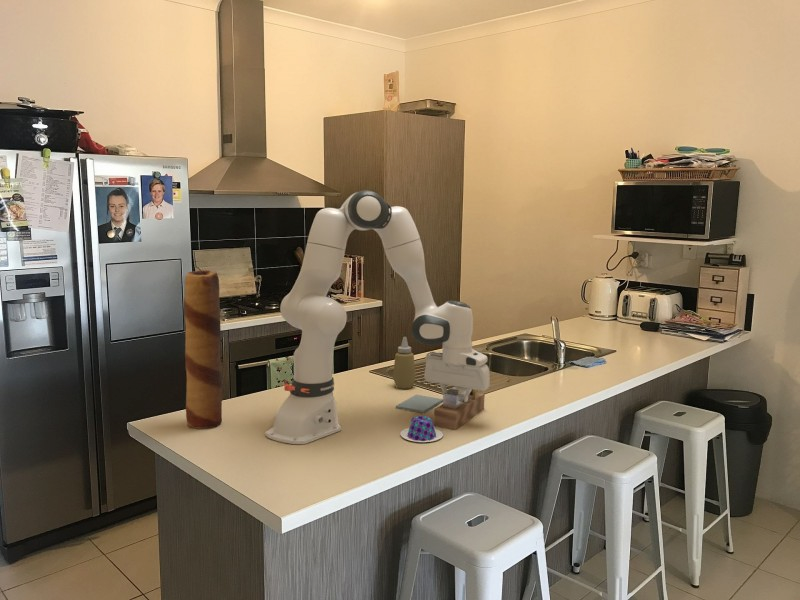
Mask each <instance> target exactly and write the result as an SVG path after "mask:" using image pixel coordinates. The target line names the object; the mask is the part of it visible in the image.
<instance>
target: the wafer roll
mask: <svg viewBox="0 0 800 600" xmlns="http://www.w3.org/2000/svg"><path fill="white" fill-rule="evenodd" d="M220 302H221V301H220V279H219V276H218V272H217V271H212V270H208V269H204V270H203V269H202V270H196V271H195V270H194V271H193V270H192V271H189V272H187V273H186V275H185V277H184V299H183V305H184V319H185V320H184V321H185V323H184V324H185V332H184V333H185V344H184V346H185V350H184V357H185V371H186V392H185V394H186V395H185V398H186V399H185V417H186V425H187V426H188V427H189V428H195V429H202V428H203V429H206V428H214V427H217V426H219V425H221V424H222V422H223V418H222V415H223V414H222V412H223V410H222V406H223V405H222V404H223V374H222V362H221V342H222V340H221V337H222V330H221V307H220V304H221V303H220Z"/></svg>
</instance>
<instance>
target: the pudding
mask: <svg viewBox="0 0 800 600" xmlns="http://www.w3.org/2000/svg"><path fill="white" fill-rule="evenodd" d="M399 434H400V436H401V437H402V438H403V439H405V440H408V441H411V442H416V443H429V442H435V441H439V440H440V439H442V438H443V435H444V434H443V432H442V431H440V429H437V428H435V426H434V420H433V419H432V418H431V417H429V416H425V415H421V416H420V415H418V416H415V417H412V418H411V420H410V423H409V427H408V428H407V427H406V428H405V429H402V431H400V433H399ZM436 435H437V437H436ZM429 440H430V441H429Z"/></svg>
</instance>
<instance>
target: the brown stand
mask: <svg viewBox="0 0 800 600" xmlns="http://www.w3.org/2000/svg"><path fill="white" fill-rule="evenodd" d="M478 391H479V390H474V389H472V391H471V392H470V400H469V401H468V402H466V403H465V404H463V405H462V406H460V407H459V408H457V409H453V408H448V407H443V403H441V404H439V405H438V407H436V408H434V409H433V410H434V411H433V414H434V416H433V424H434V427H439V428H444V429H450V430H454V431H457V430H458V429H459V428H461V427H462V426H464V424H466V423H467V422H469V420H471V419H473V418H474V417H475V416H476V415H478V414H479V413H481V412H482V411H483V410H485V397H486V396H485V393H482V392H481V393H480V392H478Z"/></svg>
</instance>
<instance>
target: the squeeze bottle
mask: <svg viewBox="0 0 800 600" xmlns="http://www.w3.org/2000/svg"><path fill="white" fill-rule="evenodd" d="M414 356H415V355H414V353H413V352H412V347H411V346H409V342H408V338H407V336H403V337H402V340H401V345H400V346H398V347H397V352H396V353H395V357H394V363H393V373H392V378H393V382H394V385H395V388H397V389H403V390H405V389H407V390H408V389H412V388H413V386H414V383H415V381H416V378H417V377H416V366H415V357H414Z"/></svg>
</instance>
